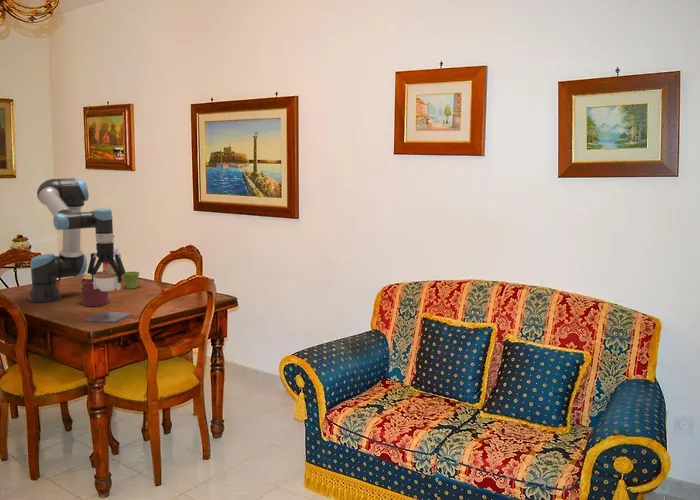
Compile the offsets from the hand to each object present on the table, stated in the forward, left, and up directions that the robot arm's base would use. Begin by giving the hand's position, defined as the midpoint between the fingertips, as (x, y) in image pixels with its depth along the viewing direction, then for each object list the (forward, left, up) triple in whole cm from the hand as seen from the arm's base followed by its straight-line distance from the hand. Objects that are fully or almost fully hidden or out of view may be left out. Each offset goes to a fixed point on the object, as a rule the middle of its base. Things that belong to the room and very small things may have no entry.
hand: (107, 289), depth 296 cm
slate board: (0, 0, -14) cm, 14 cm away
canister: (-22, +24, -14) cm, 36 cm away
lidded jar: (0, 0, -1) cm, 1 cm away
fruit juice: (-46, +79, -14) cm, 93 cm away
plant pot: (-24, +63, -14) cm, 69 cm away
